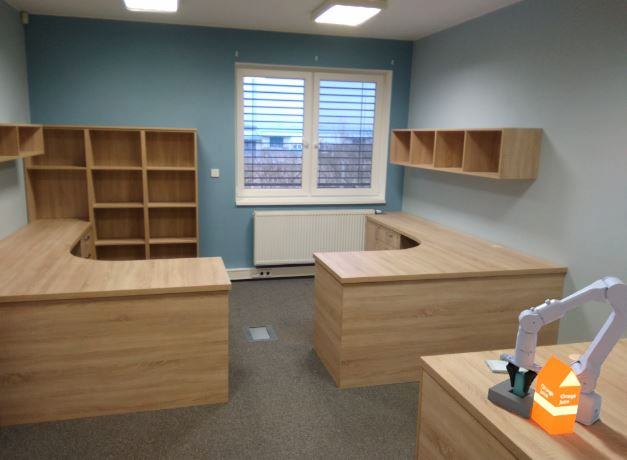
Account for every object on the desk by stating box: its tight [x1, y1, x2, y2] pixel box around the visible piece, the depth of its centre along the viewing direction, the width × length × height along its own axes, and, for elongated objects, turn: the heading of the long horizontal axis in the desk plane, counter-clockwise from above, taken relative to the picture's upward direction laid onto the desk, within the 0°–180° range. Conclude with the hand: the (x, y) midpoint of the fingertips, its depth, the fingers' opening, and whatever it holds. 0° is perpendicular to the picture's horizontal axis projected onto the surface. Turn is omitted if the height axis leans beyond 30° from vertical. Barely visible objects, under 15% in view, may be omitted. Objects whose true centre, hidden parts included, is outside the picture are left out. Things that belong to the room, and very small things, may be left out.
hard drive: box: [484, 359, 528, 374], centre depth 185 cm, size 2×8×12 cm
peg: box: [513, 372, 525, 398], centre depth 160 cm, size 4×4×8 cm
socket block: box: [487, 378, 535, 420], centre depth 160 cm, size 14×12×4 cm
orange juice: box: [530, 355, 581, 436], centre depth 147 cm, size 8×9×20 cm
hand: (519, 389), depth 160 cm, fingers closed on peg, 3 cm apart
